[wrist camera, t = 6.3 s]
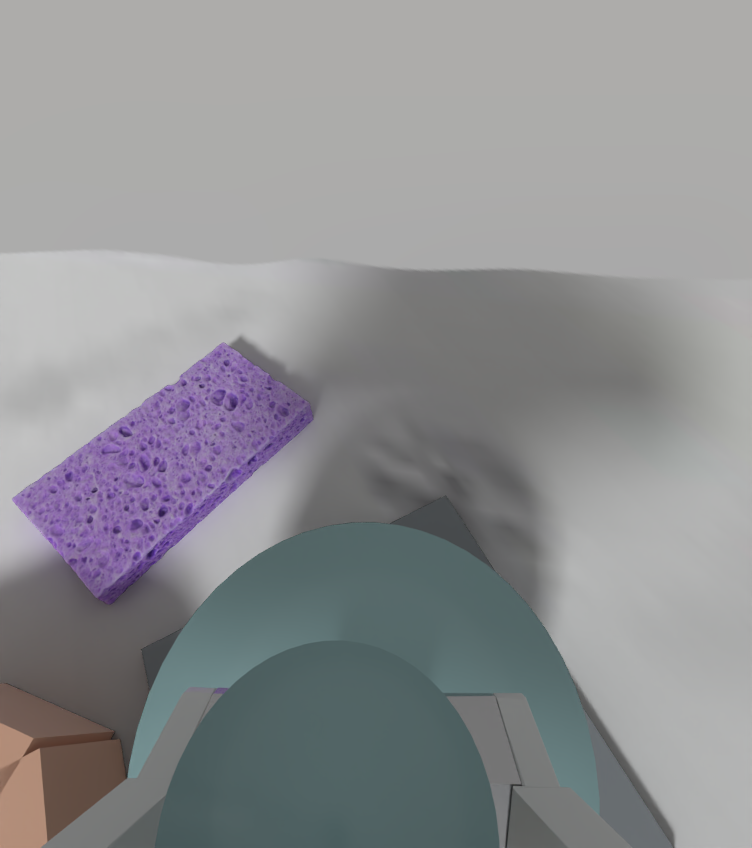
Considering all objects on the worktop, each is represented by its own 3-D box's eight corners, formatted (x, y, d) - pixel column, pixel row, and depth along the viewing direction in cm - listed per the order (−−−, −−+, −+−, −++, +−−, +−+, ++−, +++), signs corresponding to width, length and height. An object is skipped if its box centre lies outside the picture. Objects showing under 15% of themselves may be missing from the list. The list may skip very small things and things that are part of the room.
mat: (147, 650, 18) (141, 649, 18) (444, 499, 21) (445, 495, 21) (263, 1205, 11) (258, 1225, 11) (675, 860, 14) (684, 865, 14)
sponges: (316, 423, 24) (311, 403, 23) (112, 612, 19) (87, 603, 18) (233, 360, 27) (223, 338, 25) (33, 513, 22) (5, 498, 20)
